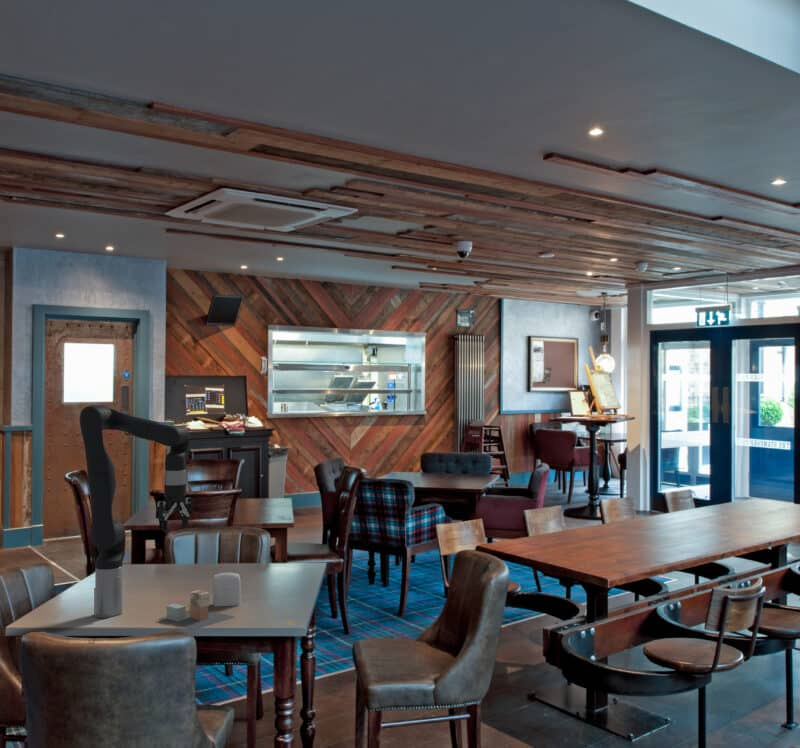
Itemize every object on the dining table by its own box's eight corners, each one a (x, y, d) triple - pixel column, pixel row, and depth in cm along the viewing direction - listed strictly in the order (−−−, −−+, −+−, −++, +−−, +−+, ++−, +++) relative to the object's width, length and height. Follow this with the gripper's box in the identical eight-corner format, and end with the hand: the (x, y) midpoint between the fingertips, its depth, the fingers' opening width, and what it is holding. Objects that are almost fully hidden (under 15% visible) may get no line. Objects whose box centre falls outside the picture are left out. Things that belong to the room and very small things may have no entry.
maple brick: (190, 604, 279) (190, 592, 279) (198, 602, 282) (198, 590, 282) (201, 607, 275) (201, 594, 275) (209, 605, 278) (209, 592, 278)
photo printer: (212, 608, 293) (212, 574, 293) (213, 604, 297) (213, 571, 298) (240, 607, 294) (240, 573, 294) (241, 604, 298) (241, 571, 299)
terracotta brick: (189, 617, 279) (189, 604, 279) (197, 615, 282) (197, 602, 282) (200, 620, 275) (200, 607, 275) (208, 618, 278) (208, 605, 278)
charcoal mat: (157, 620, 277) (157, 619, 277) (198, 609, 292) (198, 607, 292) (194, 631, 265) (194, 629, 265) (235, 618, 280) (235, 616, 280)
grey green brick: (166, 618, 278) (166, 605, 278) (174, 616, 281) (174, 603, 281) (177, 621, 274) (177, 608, 274) (185, 619, 277) (185, 606, 277)
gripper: (184, 480, 287) (184, 525, 286) (151, 483, 275) (150, 530, 275) (198, 481, 282) (197, 527, 282) (164, 485, 271) (164, 533, 271)
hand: (174, 529), depth 279 cm, fingers open, 8 cm apart
